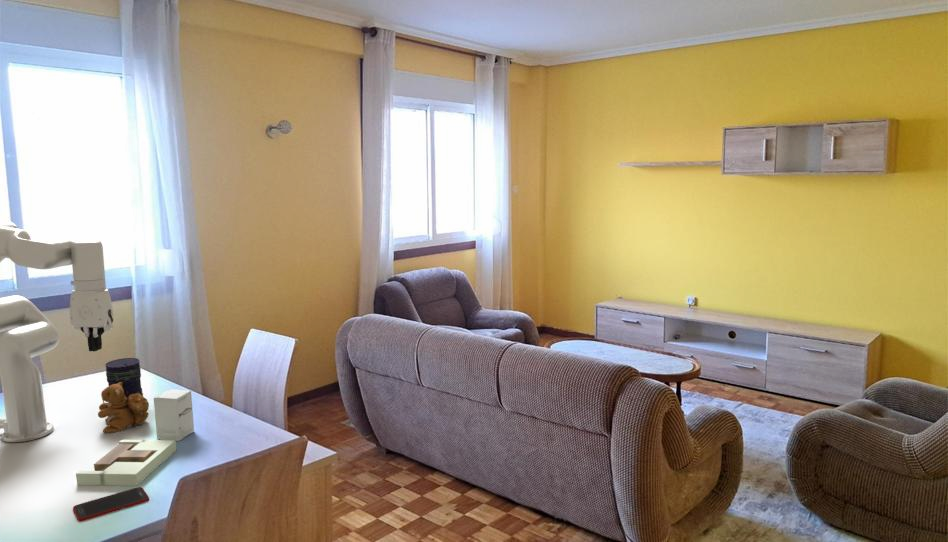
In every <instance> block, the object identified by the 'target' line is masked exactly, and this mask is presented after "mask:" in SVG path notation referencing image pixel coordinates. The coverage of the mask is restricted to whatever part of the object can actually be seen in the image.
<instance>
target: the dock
mask: <svg viewBox="0 0 948 542" xmlns="http://www.w3.org/2000/svg"><path fill="white" fill-rule="evenodd" d="M176 442H177V441H175V440H159V439H121V440H119V441H118V444H134V447H133V448H132V449H131V450H153V455H152V456H151V457H149V458H148V459H147V460H146V461H145V462H114V463H113V464H112V465H110V466H109V467H108V468H107V469H105V470H104V471H95V470H79V471H77V472H76V473H75V477H76V478H75V479H76V485H77V486H120V487H121V486H127V487H129V486H134V487H137V486H139V484H140V483H142V482H143V481H144V480H145V479H146V478H147V477H148V476H150V475H151V474H152V473H153V472H154V471H155V470H157V469H158V467H159V465H160V464H161V463H162V462H163V463H164V462H165V461H167V460H168V459H169V458H170V457H171V456H172V455H173V454H174V453H176V451H177V443H176ZM169 456H170V457H169ZM168 457H169V458H168ZM164 460H165V461H164ZM163 463H162V464H163ZM162 464H161V465H162ZM161 465H160V466H161ZM150 473H151V474H150Z"/></svg>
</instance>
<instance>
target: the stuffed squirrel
mask: <svg viewBox="0 0 948 542" xmlns="http://www.w3.org/2000/svg"><path fill="white" fill-rule="evenodd" d="M100 395H101V400H102V403H101V404H100V405H99V406H98V409H99V411H98V413H97V416H98V418H100V419H103V418H105V423H106V424H108V425H107V426H105V427H103V429H102V433H103V434H112V433H117V432H121V431H124V430H126V429H128V428H129V427H131V426H132V427H134V426H135V427H136V426H140V425H142V424H143V423H144V422H145V421H146V420H147V419H148V416H149V411H148V410H149V407H150V404H149V401H148V399H147V398H146V397H144V395H143V396H142V395H141V394H140V393H136V394H131V395H130V396H129V397H128V398H127V397H126V396H125V395H124V390H123V388H122V383H121V382H119V383H118V384H113V385H110V386H109V385H107V387H105V388H103V390H102V391H101V393H100Z"/></svg>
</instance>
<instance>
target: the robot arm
mask: <svg viewBox="0 0 948 542" xmlns="http://www.w3.org/2000/svg"><path fill="white" fill-rule="evenodd" d="M5 259H10V261H11V262H12V263H14V264H15V265H17V266H20V267H25V268H30V269H34V270H35V269H36V270H51V269H56V268H60V267H66V266H71V265H72V266H71V267H72V278H73V279H72V280H70V285H71V286H73V288H74V290H71V293H70V300H69V321H70V325H71V326H73V328H74V329H75V330H78V331H81V332H82V333H83V334H84V337H86V338H87V346H88V351H89V352H97V351H99V350H101V349H102V345H103V342H102V341H103V340H102V336H103V335H104V333H105V332H108V331H110V330H113V329H114V326H113V325H114V324H113V322H114V309H113V304H112V298H111V296H110V291H109V289H107V285H106V283H107V282H106V271H105V260H104V247H103V243H102V242H101V241H100V240H98V239H81V238H77V237H72V236H70V237H61V238H54V239H47V240H41V241H40V240H33V239H31V237H30V234H29V233H28V232H27V231H25V230H24V229H20V228H19V227H18V226H17V224H15V223H13V222H11V221H9V220H0V263H1V262H2V261H3V260H5ZM59 342H60V335H59V331H58V329H57V327H56V326H55V325H54V324H53V322H52V321H50V320H49V319H48V317H47V316H45V314H44V312H42V311H41V310H40V309H39V308H38V307H37V306H36V305H35V304H34V303H33V302H32V301H31V300H30V299H27V298H26V297H25V296H21V295H9V296H3V297H0V384H1V388H2V399H3V405H4V411H5V418H4V419H2V418H1V419H0V430H1V429H3V431H4V432H3V433H2V434H1V439H2V441H3V442H6V443H23V442H28V441H29V442H30V441H33V440H36V439H37V440H38V439H41V438H43V437H45V436H48V435H49V434H50V433H52V432H53V431H54V428H55V427H54V424H53V423H51V422H47V415H46V407H45V406H46V405H45V398H44V390H43V388H44V387H43V382H42V381H43V380H42V375H41V372H40V369H39V367H38V366H37V364H36V363H35V362H34V361H33V358H34V357H37V356H41V355H42V354H45V353H47V352H50V351H52V350H54V349H55V348H56V347H57V346H58V344H59Z"/></svg>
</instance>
